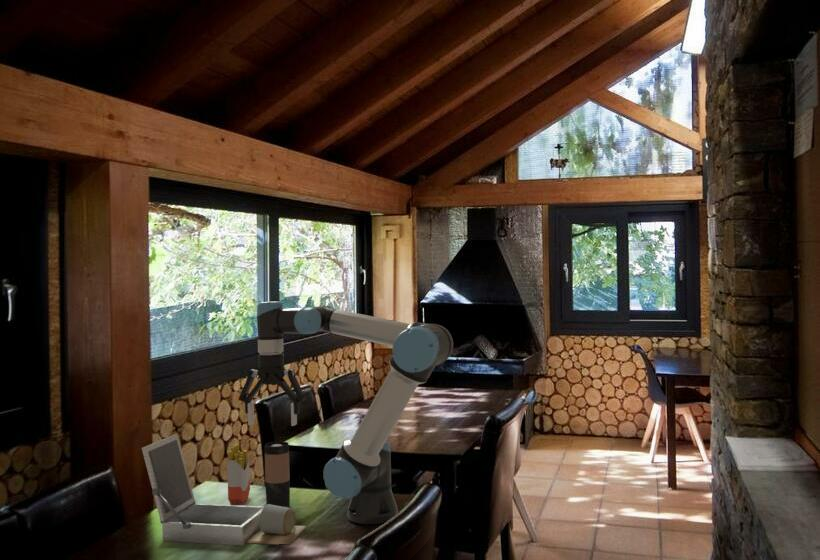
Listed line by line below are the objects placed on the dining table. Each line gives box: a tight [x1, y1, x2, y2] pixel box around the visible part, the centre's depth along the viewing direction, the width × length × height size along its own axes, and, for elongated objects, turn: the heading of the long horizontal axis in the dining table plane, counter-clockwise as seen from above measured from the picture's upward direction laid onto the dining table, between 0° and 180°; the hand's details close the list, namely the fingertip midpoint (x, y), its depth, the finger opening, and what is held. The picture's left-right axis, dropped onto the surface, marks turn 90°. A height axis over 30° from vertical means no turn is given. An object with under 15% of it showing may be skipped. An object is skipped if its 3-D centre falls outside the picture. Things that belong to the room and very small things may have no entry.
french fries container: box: [226, 443, 251, 505], centre depth 226 cm, size 5×11×18 cm, turn 178°
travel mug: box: [264, 441, 291, 508], centre depth 219 cm, size 8×8×20 cm
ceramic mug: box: [259, 503, 296, 535], centre depth 196 cm, size 11×8×8 cm
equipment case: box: [141, 433, 265, 546], centre depth 198 cm, size 30×18×26 cm, turn 78°
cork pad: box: [247, 525, 307, 545], centre depth 194 cm, size 12×13×1 cm
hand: (272, 424), depth 206 cm, fingers open, 13 cm apart
